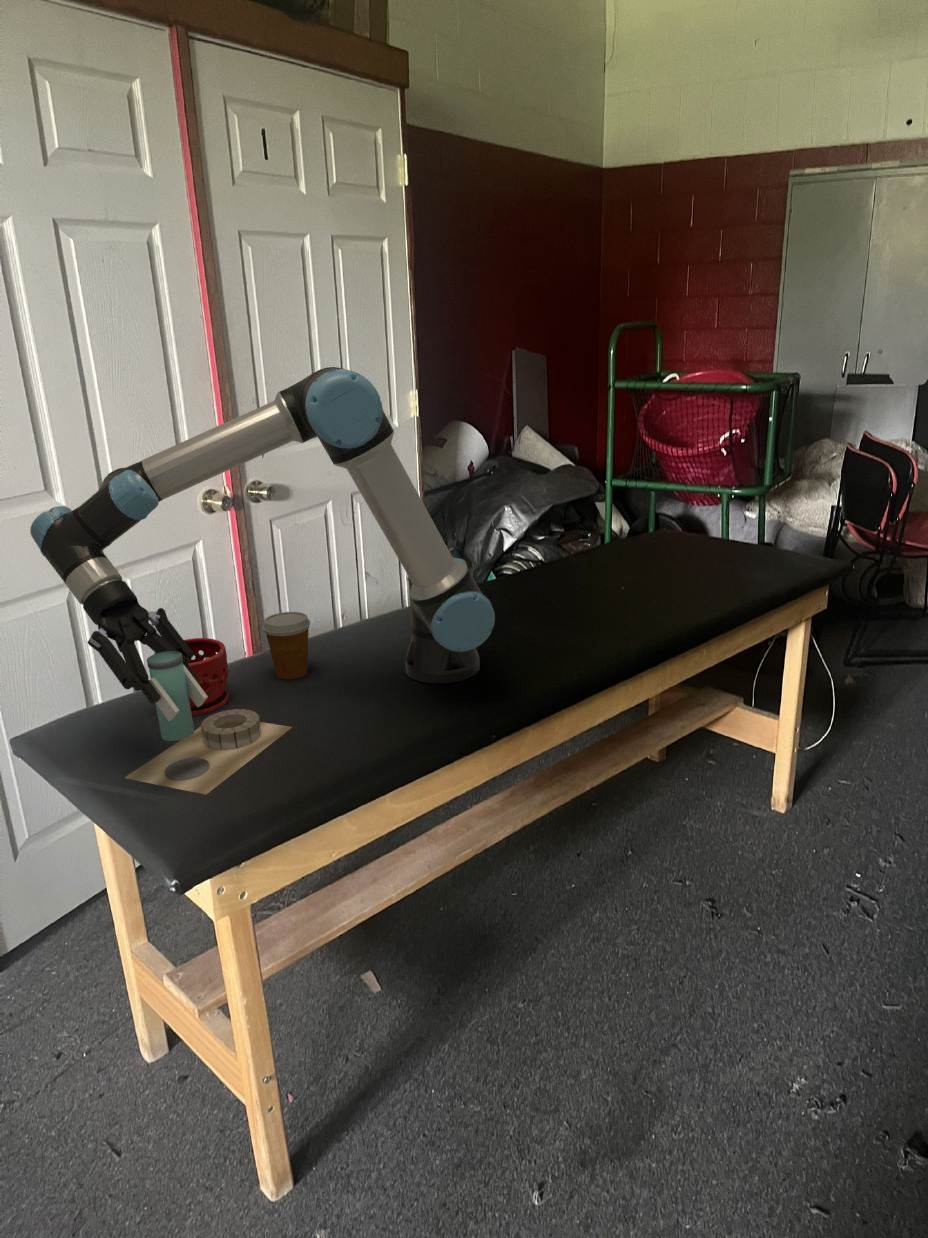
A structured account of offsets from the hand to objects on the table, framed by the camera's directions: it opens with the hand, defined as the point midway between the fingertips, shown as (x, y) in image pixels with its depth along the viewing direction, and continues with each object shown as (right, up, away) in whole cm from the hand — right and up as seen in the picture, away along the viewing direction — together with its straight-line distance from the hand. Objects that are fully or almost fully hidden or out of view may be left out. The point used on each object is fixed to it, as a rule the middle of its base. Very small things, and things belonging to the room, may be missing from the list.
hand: (188, 708), depth 137 cm
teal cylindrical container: (-3, -4, +3) cm, 6 cm away
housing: (0, -9, +12) cm, 15 cm away
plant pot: (-8, -3, +31) cm, 32 cm away
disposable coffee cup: (+7, +2, +45) cm, 46 cm away
